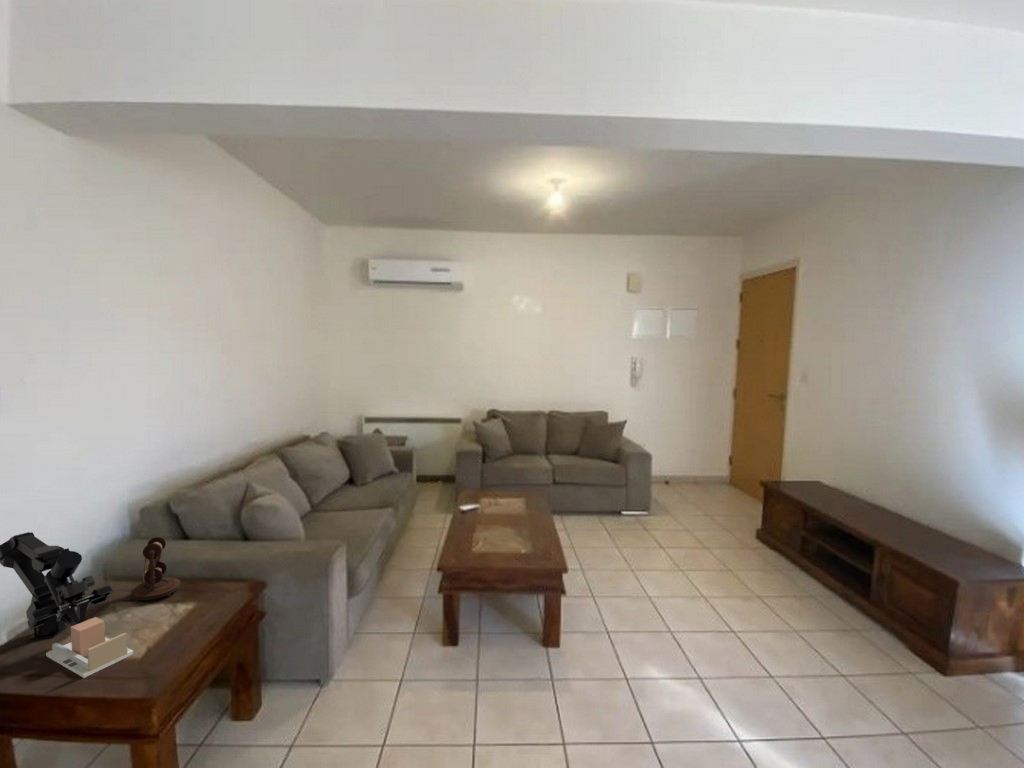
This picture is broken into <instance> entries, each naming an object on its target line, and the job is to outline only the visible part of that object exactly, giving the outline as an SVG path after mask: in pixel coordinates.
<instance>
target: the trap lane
mask: <svg viewBox="0 0 1024 768" xmlns="http://www.w3.org/2000/svg"><path fill="white" fill-rule="evenodd" d="M127 635H128V633H127V632H124V633H121V634H119V635H115V636H114V637H112V638H109V637H107V636H105V642H103V643H100V644H98V645H96V646H94V647H91V648H89V649H87V652H88V655H87V656H85V657H83V656H81V655H79V654H77V653H75V652H73V651H72V642H68V643H66V644H64V645H62V644H60V643H58V642H54V643H52V645H51V647H52V649H51V650H49V651H47V652H46V653H45V655H46V657H47V658H48V659H50V660H52V661H54V662H55V663H58V664H59V665H61V666H63V667H64V668H66V669H67V670H69V671H71V672H73V673H75V674H76V675H78V676H80V677H81V678H83V679H84V678H87V677H90V675H93V674H94V673H95V674H96V673H97V672H99V671H101V670H103V669H106V668H107V667H109V666H112V665H113V664H117V663H118V662H121V661H122V660H124V659H126V658H128V657H131V656H132V655H134V650H133V649H131V648H129V647H128V637H127Z"/></svg>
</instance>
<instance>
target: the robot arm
mask: <svg viewBox="0 0 1024 768" xmlns="http://www.w3.org/2000/svg"><path fill="white" fill-rule="evenodd" d="M82 560H83V556H82V554H81V553H79V552H78V551H74V550H70V548H68V547H67V548H64V547H62V546H59V545H48V544H47V543H45V542H44V541H42V540H41V539H39V538H38V537H37V536H35V534H34V532H32V531H31V532H30V531H28V532H24V533H20V534H15V535H13V536H12V537H10V538H9V539H8V540H7V541H5V542H3V543H2V544H0V565H1V566H2V567H3V568H10V569H13V571H14V572H15V573H16V574H17V575H18V578H19V579H20V580H21V582H22V583H23V585H25V587H26V589H27V590H28V592H30V594H31V599H30V601H31V602H30V604H29V605H28V608H27V609H26V611H25V613H26V618H27V619H28V620H27V625H28V627H29V629H30V630H31V629H32V630H33V635H31V636H30V637H29V639H30V640H36V639H52V638H54V637H55V636H57V635H58V634H60V633H61V632H62V631H64V630H65V629H66V628H68V625H69V626H70V627H72V626H74V625H77V624H79V623H82V622H84V621H87V620H86V619H87V617H86V615H87V610H88V609H89V607H90V606H91V605H94V606H95V605H98V604H102V603H103V602H105V601H107V600H108V599H109V598H110V596H111V595H112V593H113V592H114V590H113V589H112V587H111V586H110V585H108V584H105V585H103V586H100V587H97V588H95V589H93V591H92V592H91V594H90V595H86V594H87V593H86V592H88V591H89V590H90V589H89V588H92V587H94V586H95V584H96V583H95V582H96V581H95V579H94V577H93V575H92V574H91V575H88V576H85V577H84V578H81V579H82V581H78V579H77V580H75V578H74V576H73V575H74V573H75V572H77V571H76V570H77V569H78V568H79V566H80V565H81V563H82ZM46 571H47V572H46ZM43 572H46V574H44V573H43ZM85 595H86V596H85ZM67 624H68V625H67Z"/></svg>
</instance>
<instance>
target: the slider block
mask: <svg viewBox="0 0 1024 768" xmlns="http://www.w3.org/2000/svg"><path fill="white" fill-rule="evenodd" d="M105 622H106V621H105V620H103V619H101V618H98V617H96V616H94V617H92V618H89V619H87V620H86V621H84V622H82V623H79V624H77V625H74V626H70V635H71V637H70V639H71V642H72V651H73V652H75V653H77V654H79V655H81V656H83V657H85V656H87V655H88V652H87V649H89V648H91V647H94V646H96V645H98V644H100V643H103V642H105V637H106V628H105V626H106V625H105Z"/></svg>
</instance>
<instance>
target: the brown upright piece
mask: <svg viewBox="0 0 1024 768" xmlns="http://www.w3.org/2000/svg"><path fill="white" fill-rule="evenodd" d="M166 543H167V542H166V540H165V539H164V538H163V537H160V536H156V537H152V538H151V539H150V540H148V542H147V544H146V545H145V547H144V548H143V550H142V555H143V557H144V567H143V568H144V569H143V574H142V579H143V582H142V583H140V584H138V585H136V586H135V587H134V588H132V589H131V591H130V597H131V598H132V599H133V600H134V602H135V603H139V601H147V600H149V601H150V600H155V599H157V598H158V599H159V598H162V597H165V596H167V597H168V598H170V597H171V595H172V593H174V592H176V591H177V590H178V589H179V588H180V587H181V580H179V578H175V577H170V576H169V577H167V576H164V574H165V573H166V572H167V564H166V563H165V562H163V561H161V558H162V552H163V550H164V549H165V547H166ZM148 563H149V564H148Z"/></svg>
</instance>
